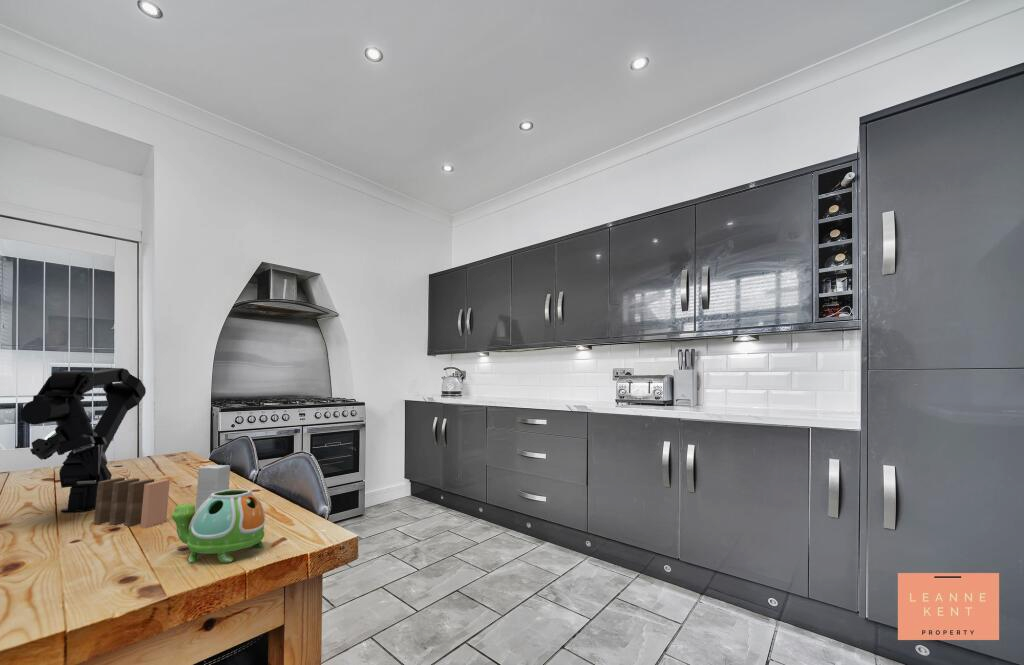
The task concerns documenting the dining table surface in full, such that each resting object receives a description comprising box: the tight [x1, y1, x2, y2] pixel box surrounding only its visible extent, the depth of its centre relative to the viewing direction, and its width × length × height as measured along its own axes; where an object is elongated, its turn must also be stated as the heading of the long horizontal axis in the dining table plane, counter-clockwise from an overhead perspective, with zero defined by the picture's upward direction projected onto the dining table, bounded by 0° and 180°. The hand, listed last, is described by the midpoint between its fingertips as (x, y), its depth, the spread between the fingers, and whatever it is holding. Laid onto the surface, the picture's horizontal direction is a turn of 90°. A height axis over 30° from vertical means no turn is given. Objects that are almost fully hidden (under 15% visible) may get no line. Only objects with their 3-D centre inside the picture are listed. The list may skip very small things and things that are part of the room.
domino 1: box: [93, 477, 126, 526], centre depth 108 cm, size 2×5×10 cm, turn 170°
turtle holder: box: [171, 488, 266, 564], centre depth 89 cm, size 12×18×12 cm
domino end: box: [139, 479, 171, 529], centre depth 106 cm, size 2×5×10 cm, turn 170°
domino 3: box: [124, 478, 156, 528], centre depth 106 cm, size 2×5×10 cm, turn 170°
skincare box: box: [195, 464, 231, 512], centre depth 115 cm, size 6×4×12 cm
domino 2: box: [108, 477, 141, 526], centre depth 107 cm, size 2×5×10 cm, turn 170°
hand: (95, 475), depth 111 cm, fingers closed
